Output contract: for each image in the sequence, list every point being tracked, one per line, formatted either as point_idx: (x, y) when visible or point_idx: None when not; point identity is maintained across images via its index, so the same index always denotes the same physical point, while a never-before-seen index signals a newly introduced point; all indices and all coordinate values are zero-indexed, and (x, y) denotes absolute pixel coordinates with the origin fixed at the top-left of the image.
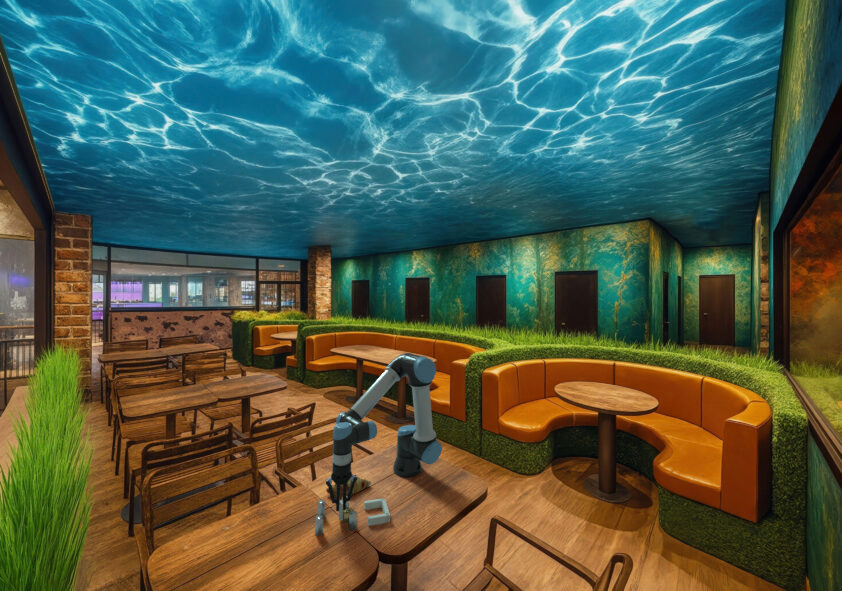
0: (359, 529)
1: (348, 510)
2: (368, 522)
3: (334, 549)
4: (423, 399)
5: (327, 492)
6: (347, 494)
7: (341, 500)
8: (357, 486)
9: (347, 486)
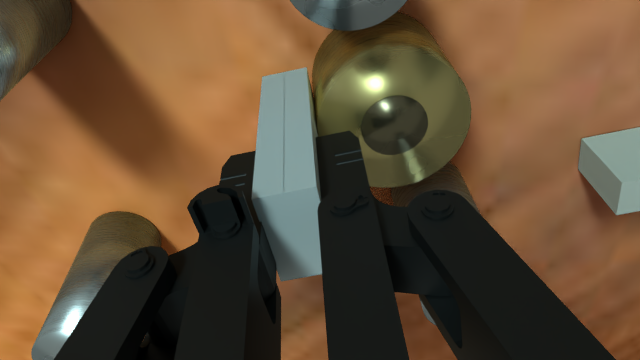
0: (488, 204)
1: (398, 117)
2: (596, 189)
3: (299, 357)
4: None
5: None
6: (429, 251)
7: (298, 194)
8: None
9: None
